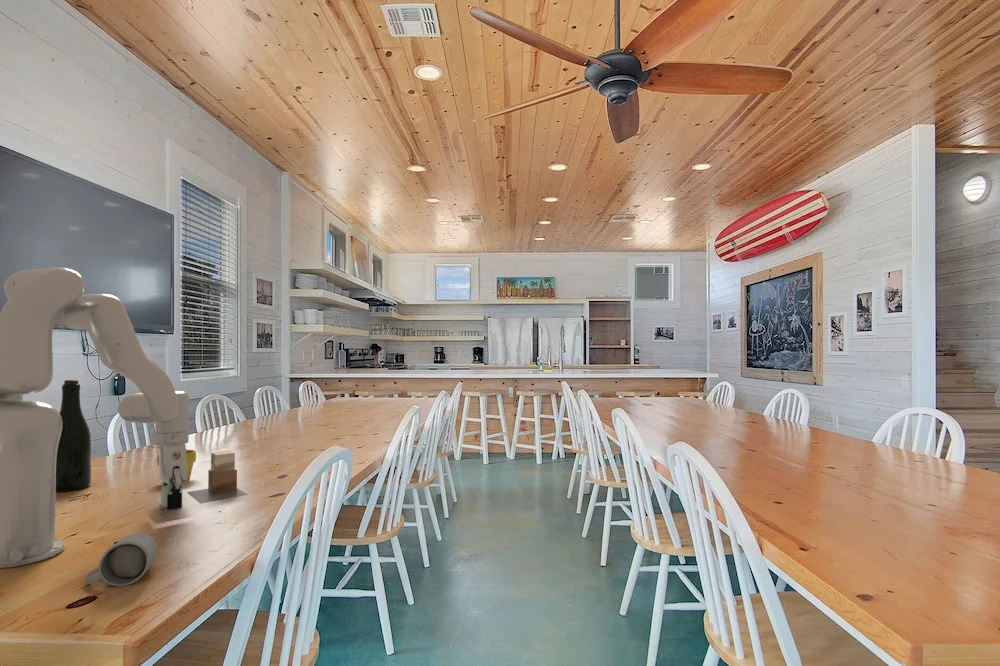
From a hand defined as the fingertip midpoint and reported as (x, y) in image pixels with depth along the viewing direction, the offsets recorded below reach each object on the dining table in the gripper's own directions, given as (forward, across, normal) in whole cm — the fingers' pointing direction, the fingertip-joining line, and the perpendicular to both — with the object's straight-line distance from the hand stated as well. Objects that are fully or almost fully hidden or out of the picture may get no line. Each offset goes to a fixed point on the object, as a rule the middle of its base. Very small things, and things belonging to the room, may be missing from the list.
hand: (171, 505), depth 139 cm
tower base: (0, +6, -14) cm, 15 cm away
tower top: (-6, +6, -14) cm, 16 cm away
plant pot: (+1, +29, -7) cm, 30 cm away
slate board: (+1, +4, -12) cm, 13 cm away
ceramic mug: (+1, -42, +16) cm, 45 cm away
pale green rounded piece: (+1, 0, 0) cm, 1 cm away
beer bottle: (+1, +46, +18) cm, 49 cm away
